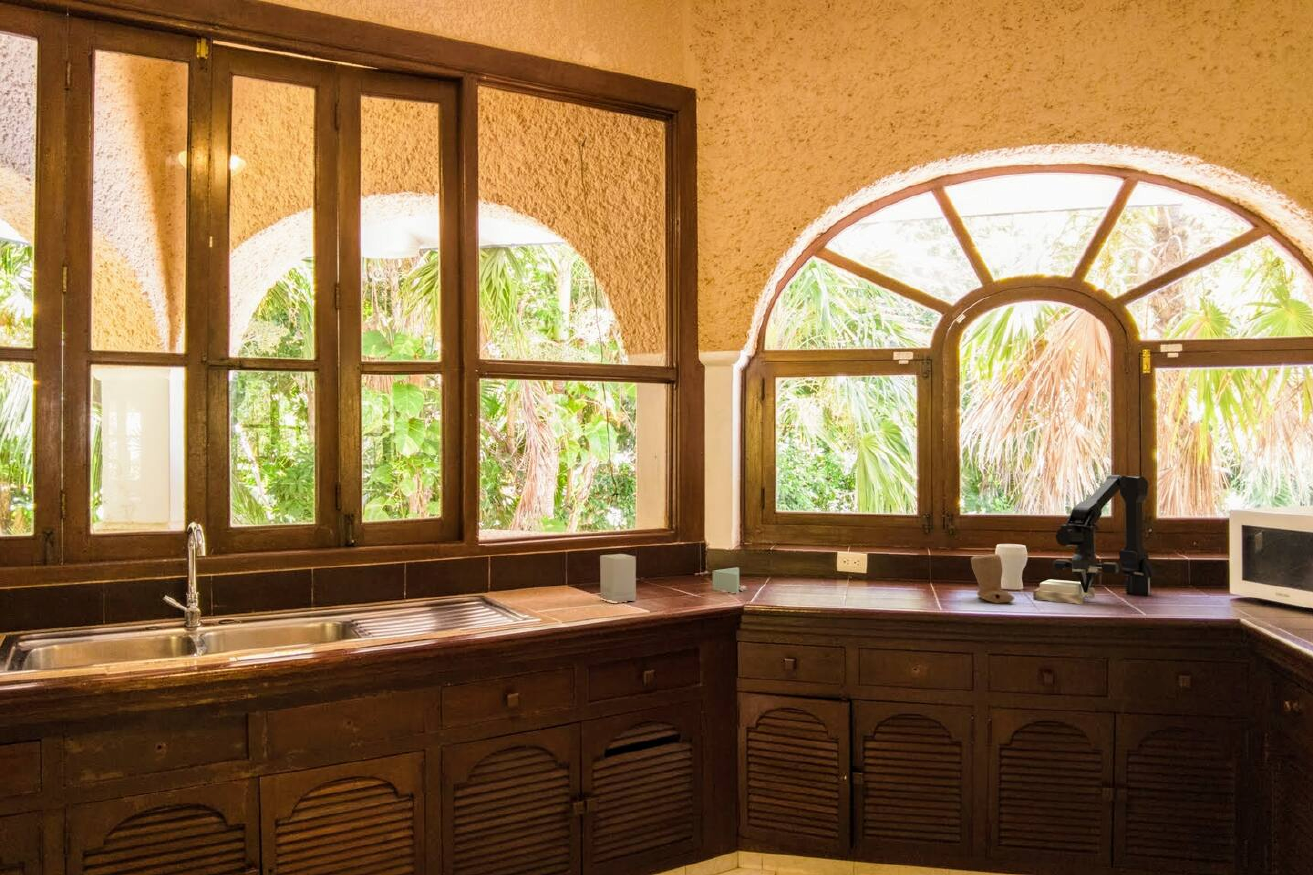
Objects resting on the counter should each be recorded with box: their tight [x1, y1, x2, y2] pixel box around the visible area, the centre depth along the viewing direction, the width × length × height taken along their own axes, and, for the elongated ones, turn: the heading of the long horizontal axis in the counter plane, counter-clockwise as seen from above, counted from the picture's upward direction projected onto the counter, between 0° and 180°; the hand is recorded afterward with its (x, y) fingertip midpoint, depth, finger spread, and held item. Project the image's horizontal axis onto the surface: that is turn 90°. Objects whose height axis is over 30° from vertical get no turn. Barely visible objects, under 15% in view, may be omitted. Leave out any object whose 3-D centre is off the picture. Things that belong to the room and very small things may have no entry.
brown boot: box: [970, 553, 1015, 604], centre depth 291 cm, size 15×12×15 cm
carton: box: [1039, 578, 1086, 599], centre depth 294 cm, size 11×11×5 cm
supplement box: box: [599, 553, 637, 601], centre depth 293 cm, size 9×9×15 cm
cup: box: [994, 543, 1028, 591], centre depth 315 cm, size 11×11×15 cm
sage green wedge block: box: [712, 567, 748, 593], centre depth 313 cm, size 12×12×8 cm
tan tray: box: [1032, 587, 1096, 605], centre depth 293 cm, size 15×17×3 cm
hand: (1085, 592), depth 289 cm, fingers closed
